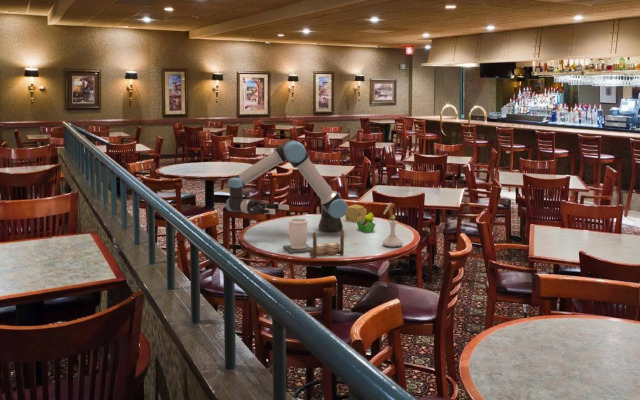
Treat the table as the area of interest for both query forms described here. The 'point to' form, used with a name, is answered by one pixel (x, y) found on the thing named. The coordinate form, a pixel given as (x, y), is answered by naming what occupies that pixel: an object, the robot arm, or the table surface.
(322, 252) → the board rack
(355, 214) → the cheese
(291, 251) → the mat
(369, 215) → the fruit basket
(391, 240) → the flower in vase
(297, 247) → the jar
